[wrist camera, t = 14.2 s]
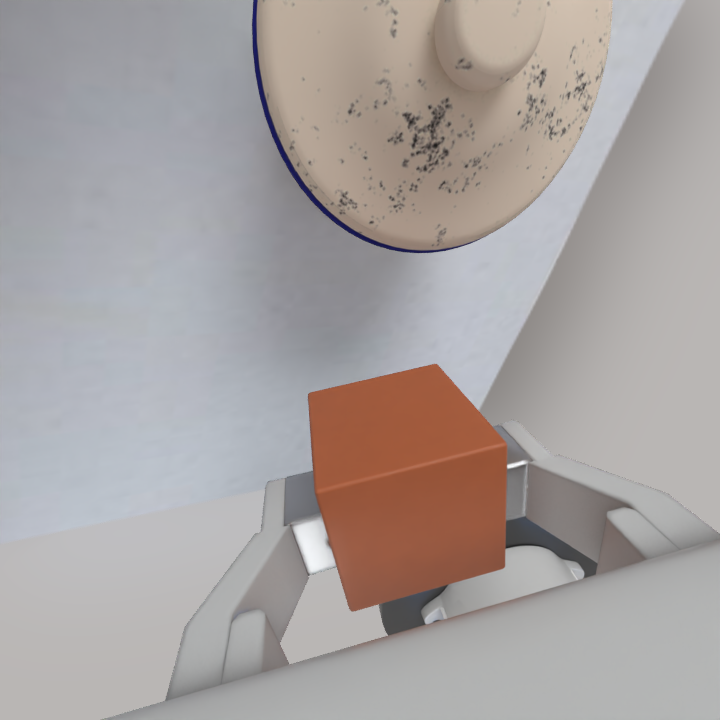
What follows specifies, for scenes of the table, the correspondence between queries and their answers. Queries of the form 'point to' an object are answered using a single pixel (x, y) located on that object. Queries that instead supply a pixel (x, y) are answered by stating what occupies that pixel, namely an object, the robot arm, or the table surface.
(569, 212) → the table surface
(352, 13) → the teacup with lid
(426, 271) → the table surface
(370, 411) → the block
